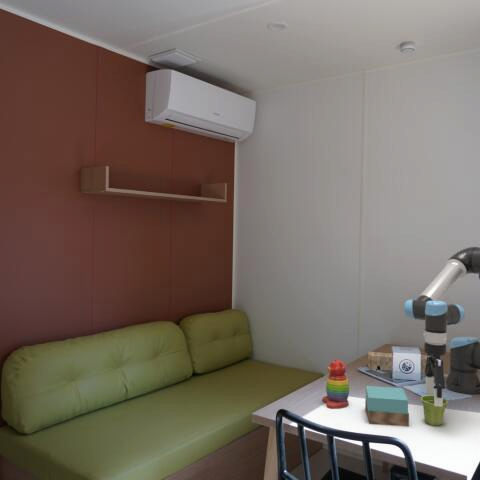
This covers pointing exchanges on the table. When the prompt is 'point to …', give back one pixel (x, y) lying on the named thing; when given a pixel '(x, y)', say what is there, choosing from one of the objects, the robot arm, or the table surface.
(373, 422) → the tower base
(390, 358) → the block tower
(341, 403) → the stacking bear
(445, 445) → the table surface
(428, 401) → the plant pot
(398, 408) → the tower top
